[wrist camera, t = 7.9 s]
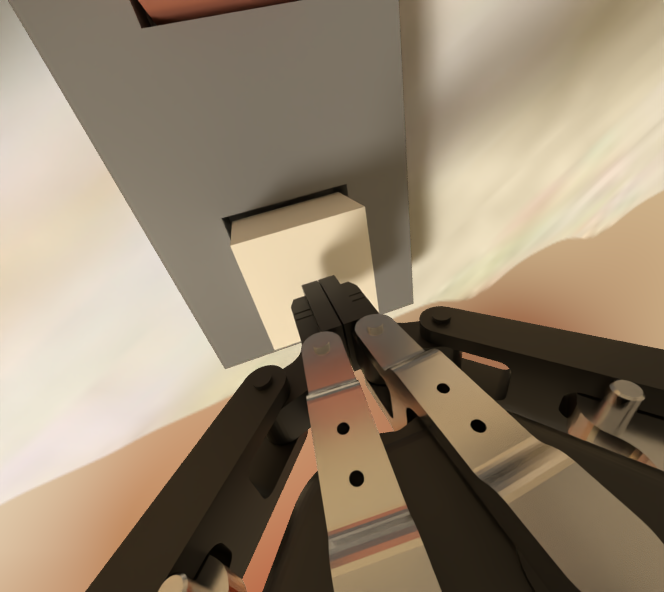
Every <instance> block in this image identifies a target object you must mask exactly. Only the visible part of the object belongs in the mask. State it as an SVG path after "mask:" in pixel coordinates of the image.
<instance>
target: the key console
mask: <svg viewBox="0 0 664 592" xmlns="http://www.w3.org/2000/svg"><path fill="white" fill-rule="evenodd" d="M8 1H9V3H10V4H11V6H12V8H13V10H14V11H15V13H16V15H17V16H18V18H19V20H20V21H21V23H22V25H23V27H24V28H25V30H26V32H27V33H28V35H29V37H30V38H31V40H32V42H33V44H34V45H35V47H36V49H37V50H38V52H39V54H40V55H41V57H42V59H43V61H44V62H45V64H46V66H47V67H48V69H49V71H50V72H51V74H52V76H53V78H54V79H55V81H56V83H57V84H58V86H59V88H60V89H61V91H62V93H63V95H64V96H65V98H66V100H67V101H68V103H69V105H70V106H71V108H72V110H73V112H74V113H75V115H76V117H77V118H78V120H79V122H80V123H81V125H82V127H83V129H84V130H85V132H86V134H87V135H88V137H89V139H90V140H91V142H92V144H93V146H94V147H95V149H96V151H97V152H98V154H99V156H100V157H101V159H102V161H103V162H104V164H105V166H106V168H107V169H108V171H109V173H110V174H111V176H112V178H113V179H114V181H115V183H116V185H117V186H118V188H119V190H120V191H121V193H122V195H123V196H124V198H125V200H126V202H127V203H128V205H129V207H130V208H131V210H132V212H133V213H134V215H135V217H136V219H137V220H138V222H139V224H140V225H141V227H142V229H143V230H144V232H145V234H146V236H147V237H148V239H149V241H150V242H151V244H152V246H153V247H154V249H155V251H156V253H157V254H158V256H159V258H160V259H161V261H162V263H163V264H164V266H165V268H166V270H167V271H168V273H169V275H170V276H171V278H172V280H173V281H174V283H175V285H176V287H177V288H178V290H179V292H180V293H181V295H182V297H183V298H184V300H185V302H186V304H187V305H188V307H189V309H190V310H191V312H192V314H193V315H194V317H195V319H196V321H197V322H198V324H199V326H200V327H201V329H202V331H203V332H204V334H205V336H206V337H207V339H208V341H209V343H210V344H211V346H212V348H213V349H214V351H215V353H216V354H217V356H218V358H219V360H220V361H221V363H222V365H223V366H224V368H225V369H227V368H230V367H233V366H236V365H239V364H241V363H244V362H247V361H250V360H253V359H256V358H259V357H262V356H264V355H267V354H270V353H273V352H276V351H279V350H282V349H284V348H287V347H290V346H293V345H296V344H299V343H301V341H300V342H297V343H294V344H292V345H289V346H286V347H283V348H280V349H277V350H274V348H273V345H272V343H271V340H270V338H269V336H268V333H267V331H266V329H265V326H264V324H263V322H262V319H261V317H260V315H259V312H258V310H257V308H256V305H255V303H254V301H253V298H252V296H251V294H250V291H249V289H248V286H247V284H246V282H245V279H244V277H243V275H242V272H241V270H240V268H239V265H238V263H237V261H236V258H235V256H234V254H233V251H232V249H231V247H230V242H231V231H232V221H235V220H239V219H242V218H246V217H249V216H253V215H257V214H260V213H264V212H267V211H271V210H275V209H278V208H282V207H285V206H289V205H293V204H296V203H300V202H303V201H307V200H310V199H314V198H318V197H321V196H325V195H328V194H332V193H336V192H339V193H341V194H343V195H345V196H347V197H348V198H350V199H352V200H354V201H356V202H357V203H359V204H361V205H363V206H365V211H366V218H367V226H368V233H369V241H370V248H371V256H372V263H373V271H374V278H375V286H376V293H377V301H378V308H379V314H385V313H388V312H390V311H393V310H396V309H399V308H402V307H405V306H408V305H411V304H413V284H412V263H411V243H410V222H409V201H408V181H407V160H406V139H405V119H404V98H403V77H402V57H401V36H400V15H399V0H298V1H295V2H289V3H283V4H278V5H272V6H267V7H261V8H255V9H250V10H244V11H238V12H233V13H227V14H221V15H216V16H210V17H204V18H199V19H193V20H187V21H182V22H176V23H170V24H165V25H159V26H157V25H156V24H155V22H154V21H153V20H152V18H151V17H150V16H149V14H148V13H147V12H146V10H145V9H144V8H143V6H142V5H141V4H140V2H139V1H138V0H8Z"/></svg>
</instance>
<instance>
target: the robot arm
mask: <svg viewBox="0 0 664 592" xmlns="http://www.w3.org/2000/svg"><path fill="white" fill-rule="evenodd" d="M302 289H303V293H304V296H303V297H300V298H297V299H294V300H293V302H292V305H291V310H292V313H293V316H294V320H295V323H296V326H297V330H298V333H299V336H300V339H301V343H302V348H301V353H300V355H299V356H298V358H297V359H296V360H295V361H294V362H293V363H291V364H290V365H288V366H287V367H285V368H284V369H282V368H280V367H278V366H275V365H268V366H264V367H261V368H258V369H256V370H255V371H253V372H252V373H251V374H250V375H248V377H247V378H246V379H245V380H244V382H243V383H242V384H241V385H240V387H239V388H238V389H237V391H236V392H235V393H234V395H233V396H232V397H231V399H230V400H229V401H228V403H227V404H226V405H225V407H224V408H223V409H222V411H221V412H220V413H219V415H218V416H217V417H216V419H215V420H214V421H213V423H212V424H211V425H210V427H209V428H208V429H207V431H206V432H205V433H204V435H203V436H202V437H201V439H200V440H199V441H198V443H197V444H196V445H195V447H194V448H193V449H192V451H191V452H190V454H189V455H188V456H187V458H186V459H185V460H184V461H183V463H182V464H181V465H180V467H179V468H178V469H177V471H176V472H175V473H174V475H173V476H172V477H171V479H170V480H169V481H168V483H167V484H166V485H165V486H164V488H163V489H162V491H161V492H160V493H159V495H158V496H157V497H156V499H155V500H154V501H153V502H152V504H151V505H150V506H149V508H148V509H147V510H146V512H145V513H144V514H143V516H142V517H141V518H140V520H139V521H138V523H137V524H136V525H135V526H134V528H133V529H132V531H131V532H130V533H129V534H128V536H127V537H126V538H125V540H124V541H123V542H122V544H121V545H120V547H119V548H118V549H117V550H116V552H115V553H114V554H113V556H112V557H111V558H110V560H109V561H108V562H107V564H106V565H105V566H104V568H103V569H102V570H101V572H100V573H99V574H98V576H97V577H96V578H95V580H94V581H93V582H92V584H91V585H90V586H89V588H88V589H87V590H86V591H85V592H247V591H246V587H245V584H244V582H243V580H242V578H243V576H244V574H245V571H246V569H247V567H248V565H249V563H250V561H251V558H252V556H253V554H254V552H255V550H256V547H257V545H258V543H259V541H260V539H261V536H262V534H263V532H264V530H265V528H266V525H267V523H268V521H269V519H270V517H271V514H272V512H273V510H274V508H275V505H276V503H277V501H278V499H279V497H280V494H281V492H282V490H283V488H284V486H285V484H286V481H287V479H288V477H289V475H290V473H291V471H292V468H293V466H294V464H295V462H296V459H297V457H298V455H299V453H300V451H301V449H302V446H303V444H304V442H305V440H306V437H307V434H308V429H309V428H310V427H311V431H312V437H313V443H314V449H315V456H316V462H317V469H318V471H317V472H316V473H315V474H314V475H313V477H312V478H311V479H310V480H309V481H308V483H307V485H306V486H305V487H304V489H303V491H302V492H301V494H300V496H299V498H298V500H297V502H296V504H295V507H294V509H293V512H292V514H291V517H290V520H289V522H288V525H287V528H286V530H285V533H284V536H283V539H282V541H281V544H280V546H279V549H278V552H277V554H276V557H275V560H274V562H273V565H272V568H271V570H270V573H269V576H268V578H267V581H266V584H265V586H264V589H263V591H262V592H664V350H663V349H658V348H653V347H647V346H642V345H637V344H632V343H627V342H622V341H617V340H612V339H607V338H602V337H596V336H592V335H586V334H582V333H577V332H571V331H566V330H561V329H556V328H551V327H546V326H540V325H536V324H531V323H526V322H521V321H516V320H511V319H505V318H501V317H496V316H490V315H485V314H480V313H475V312H470V311H465V310H460V309H455V308H450V307H443V306H438V307H432V308H429V309H426V310H425V311H423V312H422V313H421V315H420V321H418V322H408V323H396V322H395V321H394V320H393V319H392V318H391V317H389V316H387V315H383V314H379V312H378V311H377V310H376V309H375V307H374V306H373V305H372V304H371V302H370V301H369V300H368V299H367V297H366V296H365V295H364V293H362V291H361V290H360V288H359V287H358V286H357V285H355V284H353V283H351V282H345V283H342V284H340V283H339V281H338V280H337V278H336V277H335V275H332V276H328V277H325V278H322V279H319V280H318V281H317V280H316V281H313V282H310V283H307V284H304V285H302ZM462 352H466V353H469V354H473V355H477V356H480V357H484V358H487V359H491V360H494V361H498V362H501V363H503V364H505V365H506V366H508V367H509V369H508V370H502V369H498V368H495V367H492V366H488V365H484V364H481V363H478V362H474V361H471V360H467V359H464V358H462ZM351 366H352V367H351ZM352 368H353V370H354V371H356V370H359V369H361V370H362V372H363V374H364V377H365V382H366V385H367V387H368V389H369V390H370V392H371V394H372V395H373V397H374V399H375V400H376V402H377V403H378V405H379V406H380V408H381V410H382V411H383V413H384V414H385V416H386V417H387V419H388V421H389V422H390V424H391V426H392V428H393V430H394V432H387V433H380V434H379V432H378V430H377V427H376V424H375V422H374V419H373V417H372V414H371V411H370V409H369V406H368V404H367V401H366V398H365V396H364V393H363V390H362V388H361V385H360V383H359V381H358V380H356V378H355V375H354V372H353V370H352Z"/></svg>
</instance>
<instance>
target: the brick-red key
mask: <svg viewBox="0 0 664 592" xmlns="http://www.w3.org/2000/svg"><path fill="white" fill-rule="evenodd" d="M138 1H139V2H140V4H141V5H142V6H143V8H144V9H145V10H146V12H147V13H148V14H149V16H150V17H151V18H152V20H153V21H154V22H155V24H156V25H157V26H159V25H165V24H170V23H176V22H182V21H187V20H193V19H199V18H204V17H210V16H216V15H221V14H227V13H233V12H238V11H244V10H250V9H255V8H261V7H267V6H272V5H278V4H283V3H289V2H295V1H298V0H138Z"/></svg>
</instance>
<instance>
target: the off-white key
mask: <svg viewBox="0 0 664 592" xmlns="http://www.w3.org/2000/svg"><path fill="white" fill-rule="evenodd" d="M230 247H231V249H232V251H233V254H234V256H235V258H236V261H237V263H238V265H239V268H240V270H241V272H242V275H243V277H244V279H245V282H246V284H247V286H248V289H249V291H250V294H251V296H252V298H253V301H254V303H255V305H256V308H257V310H258V312H259V315H260V317H261V319H262V322H263V324H264V326H265V329H266V331H267V333H268V336H269V338H270V340H271V343H272V345H273V348H274V350H277V349H280V348H283V347H286V346H289V345H292V344H294V343H297V342H300V341H301V339H300V336H299V333H298V330H297V326H296V323H295V320H294V316H293V313H292V310H291V305H292V302H293V300H294V299H297V298H300V297H303V296H304V293H303V289H302V285H304V284H307V283H310V282H313V281H316V280H317V281H318V280H319V279H322V278H325V277H328V276H332V275H335V277H336V278H337V280H338V281H339V283H340V284H342V283H345V282H351V283H353V284H355V285H357V286H358V287H359V288H360V290H361V291H362V293H364V295H365V296H366V297H367V299H368V300H369V301H370V302H371V304H372V305H373V306H374V307H375V309H376V310H377V311H378V312H379V308H378V301H377V293H376V286H375V278H374V271H373V263H372V256H371V248H370V241H369V233H368V226H367V218H366V211H365V206H363V205H361V204H359V203H357V202H356V201H354V200H352V199H350V198H348V197H347V196H345V195H343V194H341V193H339V192H336V193H332V194H328V195H325V196H321V197H318V198H314V199H310V200H307V201H303V202H300V203H296V204H293V205H289V206H285V207H282V208H278V209H275V210H271V211H267V212H264V213H260V214H257V215H253V216H249V217H246V218H242V219H239V220H235V221H232V231H231V242H230Z"/></svg>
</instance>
